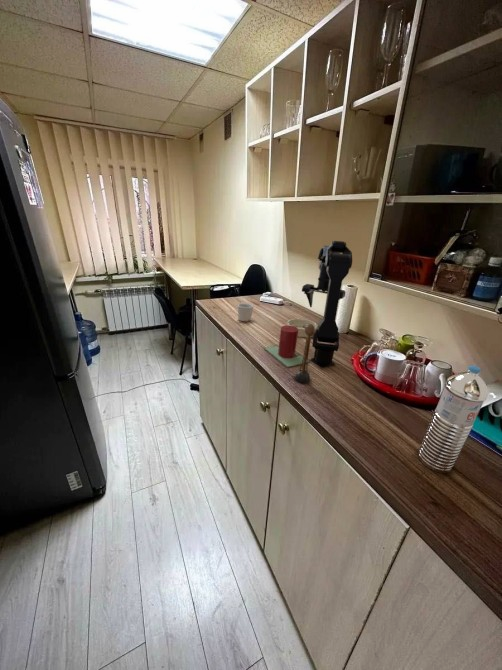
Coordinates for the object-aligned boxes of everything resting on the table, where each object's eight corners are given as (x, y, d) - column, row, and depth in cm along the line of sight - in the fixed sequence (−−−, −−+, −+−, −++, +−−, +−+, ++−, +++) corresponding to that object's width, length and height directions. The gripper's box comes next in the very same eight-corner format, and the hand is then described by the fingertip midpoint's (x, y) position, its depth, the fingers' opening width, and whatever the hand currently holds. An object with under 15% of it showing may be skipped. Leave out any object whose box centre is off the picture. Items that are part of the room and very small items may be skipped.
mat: (309, 362, 103) (309, 361, 103) (287, 367, 99) (287, 366, 99) (284, 345, 116) (284, 344, 116) (264, 349, 112) (264, 348, 111)
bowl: (322, 335, 128) (323, 327, 127) (298, 340, 122) (299, 331, 120) (303, 325, 140) (304, 317, 138) (280, 329, 133) (281, 320, 131)
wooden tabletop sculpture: (291, 374, 94) (298, 320, 86) (303, 373, 96) (311, 319, 88) (299, 384, 89) (308, 327, 81) (311, 382, 91) (321, 326, 83)
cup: (232, 316, 145) (233, 301, 142) (246, 315, 149) (247, 300, 145) (240, 323, 136) (241, 308, 133) (254, 321, 140) (255, 306, 137)
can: (298, 356, 106) (301, 330, 102) (284, 359, 103) (287, 333, 99) (288, 349, 111) (291, 324, 107) (274, 352, 108) (277, 326, 104)
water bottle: (438, 450, 66) (478, 359, 56) (458, 474, 60) (507, 377, 50) (410, 449, 66) (446, 358, 56) (428, 474, 59) (472, 376, 50)
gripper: (351, 276, 123) (344, 309, 129) (312, 270, 131) (307, 301, 138) (345, 280, 114) (338, 315, 120) (303, 273, 122) (299, 306, 129)
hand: (320, 309), depth 127 cm, fingers open, 9 cm apart
